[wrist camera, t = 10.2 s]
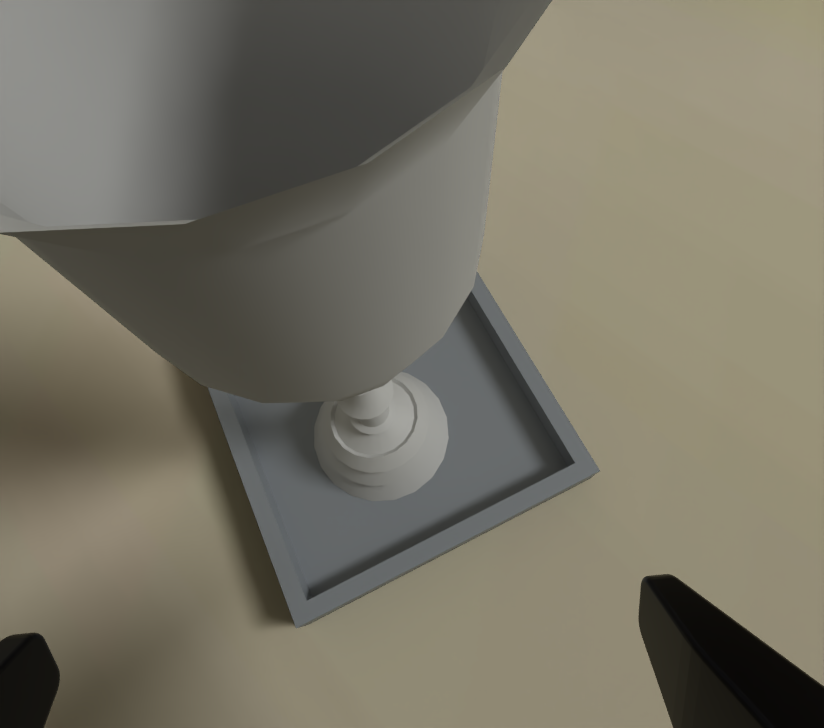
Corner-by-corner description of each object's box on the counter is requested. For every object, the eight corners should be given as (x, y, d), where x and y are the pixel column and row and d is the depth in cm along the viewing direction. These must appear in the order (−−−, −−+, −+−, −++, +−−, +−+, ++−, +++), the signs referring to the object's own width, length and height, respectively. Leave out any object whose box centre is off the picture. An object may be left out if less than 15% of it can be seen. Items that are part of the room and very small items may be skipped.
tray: (589, 478, 21) (600, 471, 19) (306, 625, 19) (296, 628, 18) (448, 246, 25) (448, 225, 23) (205, 355, 23) (190, 340, 22)
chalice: (258, 397, 22) (-328, -207, 5) (409, 314, 23) (319, -418, 6) (346, 571, 20) (-239, 466, 3) (512, 469, 20) (816, -62, 4)
